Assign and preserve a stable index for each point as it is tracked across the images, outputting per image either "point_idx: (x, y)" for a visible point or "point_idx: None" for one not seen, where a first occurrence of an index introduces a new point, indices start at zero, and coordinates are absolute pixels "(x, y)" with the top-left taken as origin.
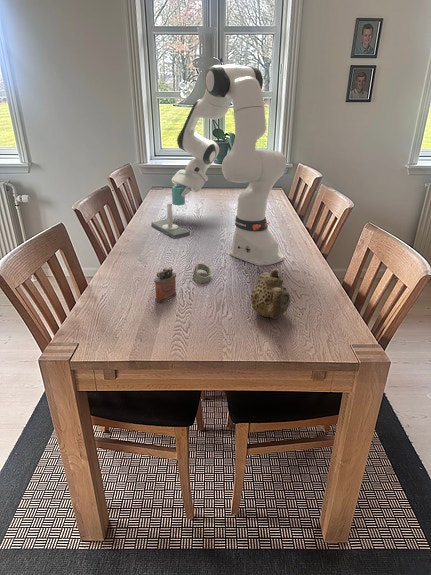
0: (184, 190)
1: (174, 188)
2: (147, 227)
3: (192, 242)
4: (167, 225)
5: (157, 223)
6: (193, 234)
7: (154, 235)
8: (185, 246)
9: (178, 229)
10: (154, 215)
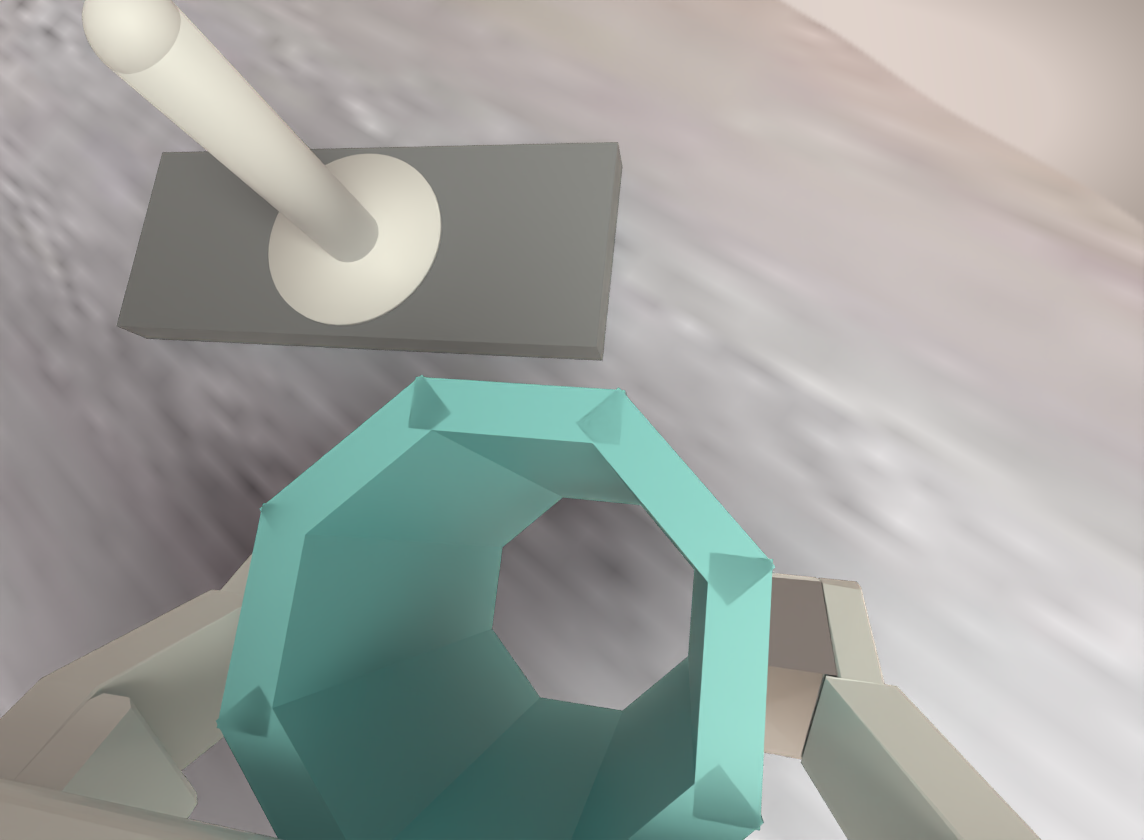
0: (163, 634)
1: (435, 379)
2: (598, 105)
3: (24, 252)
4: (400, 232)
5: (541, 181)
6: (134, 380)
7: (364, 66)
8: (15, 159)
9: (240, 270)
10: (992, 401)
